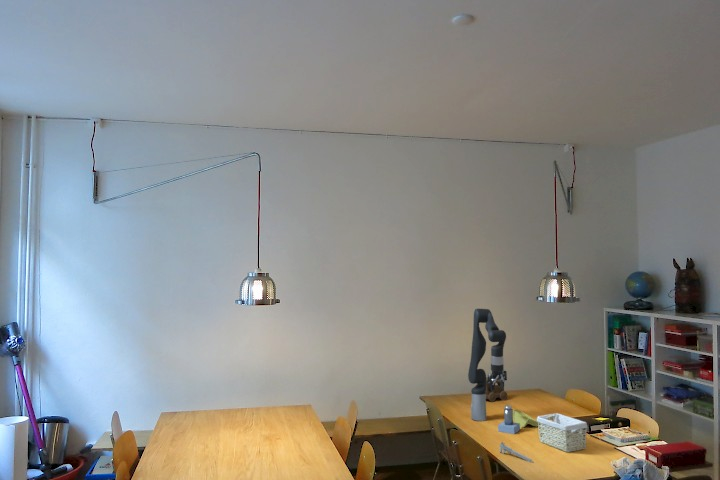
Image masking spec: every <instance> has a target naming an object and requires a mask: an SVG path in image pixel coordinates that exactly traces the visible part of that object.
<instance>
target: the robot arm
mask: <svg viewBox="0 0 720 480" xmlns="http://www.w3.org/2000/svg"><path fill="white" fill-rule="evenodd" d="M480 323H481V324H485V325H484V329H485V330H486V332H487V335H488V336H487V337H488V338H487V339H488V341H490V342H491V343H497V344H495V345H492V346H491V349H490V350H491V351H490V353H491V354H490V370H491V373H487V374H486V371H485V369H483V368H478V367H479V364H480V362H481V361H482V359H483V357H484V356H485V354H486V351H487V340H486V338H485V337H484V335H483V333H482V331H481V327H480ZM471 341H472V342H471V353H470V362H469V368H468V373H467V374H468V375H467V378H468V381H469V383H470V384H471V385H474V384H475V386H474V387H472V388H471V391H470V392H471V404H470V418H471V420H473V421H476V422H484V421H485V422H486V421H487V401H486V400H487V399H486V395H485V391H486V378H488V382H487V383H488V384H490V390H491V391H494V383H495V382H496V380H498V379H500V381H501V382H500V387H501V388H504V389H505V381H507V380H508V377H507V375H508V374H507V372H508V371H507V370H505V369H504V368H505V367H504V366H505V365H504V347H505V343H506V341H507V334H506V332H505V330H501V329H500V328H499V326H498V325H497V324H496V323H495V319H494V317H493V313H492V311H491V310H490V309H488V308H475V309H474V312H473V331H472V340H471ZM493 379H494V380H493ZM489 381H490V382H489ZM492 381H493V383H492ZM495 384H496V383H495Z"/></svg>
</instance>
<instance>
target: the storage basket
mask: <svg viewBox="0 0 720 480" xmlns="http://www.w3.org/2000/svg"><path fill="white" fill-rule="evenodd" d="M536 421H537V422H538V426H537V427H538V428H537V429H538V435H539V442H540V443H542V444H544V443H545V445H547V446H550V447H553V448H555V449H557V450H560V451H563V452H566V453H567V452H568V453H570V452H576V451H581V450H584V449H586V448H587V430H588V429H587V428H588V425H587V424H588V423H587V422H586V421H583V420H580V419H577V418H574V417H570V416H567V415H564V414H561V413H559V412H556V413H549V414H542V415H538V416H537V418H536Z"/></svg>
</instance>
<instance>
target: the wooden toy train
mask: <svg viewBox="0 0 720 480" xmlns="http://www.w3.org/2000/svg"><path fill="white" fill-rule="evenodd" d="M493 380H494V379H493ZM487 382H488V377H486V391H485V395H486V400H489V402H490V403H493V402H495V401H496V399H497V398H498V399H500V400H501V401H506V400H507V399H508V392H507V391H506V390H505V387H504V388H501V387H500V382H501V381H500V379H498V380H496V382H495V383H494V391H491V390H490V384H488V383H487ZM489 382H490V381H489ZM492 383H493V381H492Z"/></svg>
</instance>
